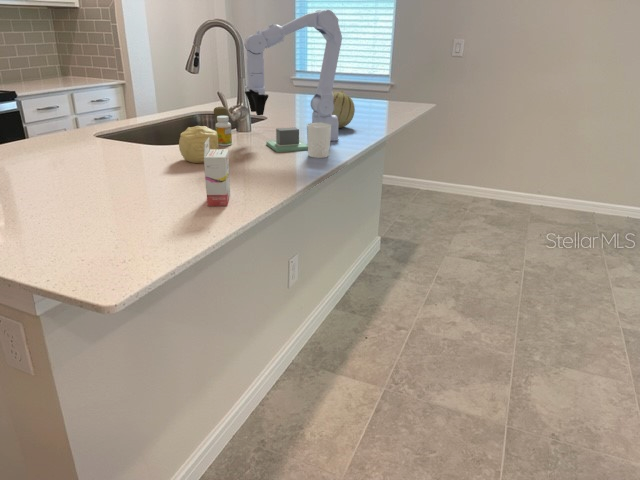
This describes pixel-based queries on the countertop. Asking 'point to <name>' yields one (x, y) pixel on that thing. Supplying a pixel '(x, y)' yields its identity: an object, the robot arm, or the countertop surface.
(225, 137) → the supplement bottle
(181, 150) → the pale yellow rounded piece
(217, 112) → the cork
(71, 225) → the countertop surface
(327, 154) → the white cup
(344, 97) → the ribbed yellow gourd
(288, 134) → the block
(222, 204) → the ink cartridge box
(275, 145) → the board
